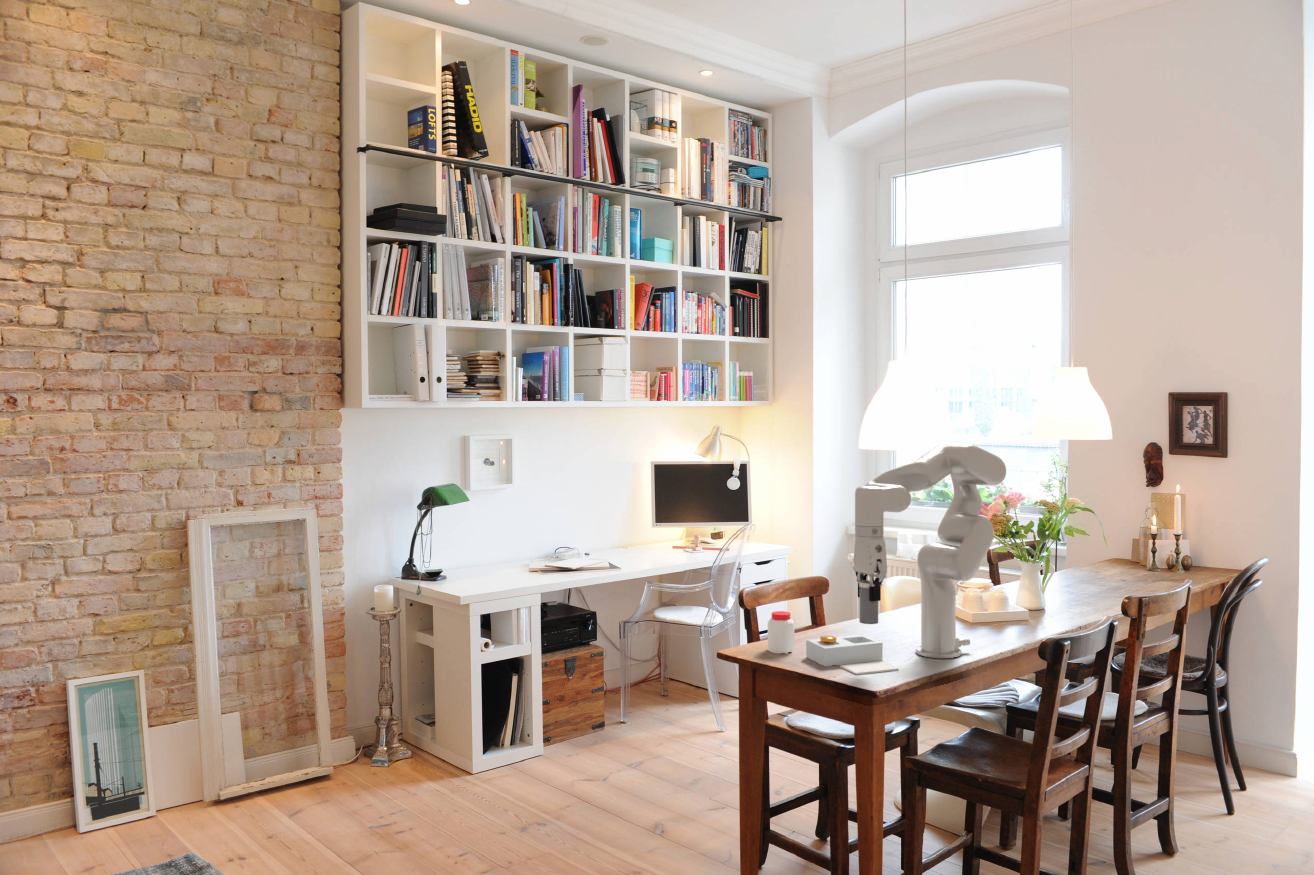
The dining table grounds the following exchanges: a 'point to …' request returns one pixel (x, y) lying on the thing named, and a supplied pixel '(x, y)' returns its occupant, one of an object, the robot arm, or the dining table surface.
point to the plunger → (828, 640)
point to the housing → (845, 650)
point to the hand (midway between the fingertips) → (869, 598)
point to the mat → (869, 667)
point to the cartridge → (867, 605)
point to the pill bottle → (781, 633)
